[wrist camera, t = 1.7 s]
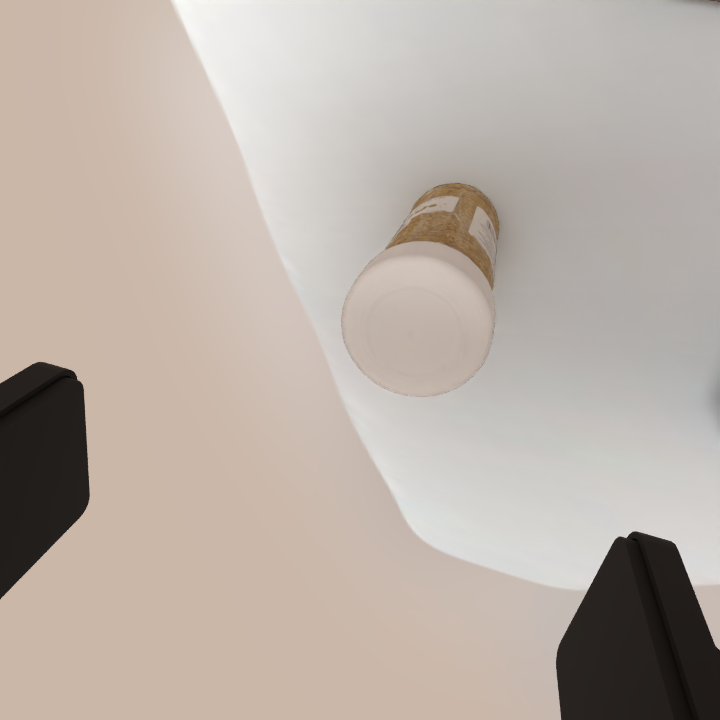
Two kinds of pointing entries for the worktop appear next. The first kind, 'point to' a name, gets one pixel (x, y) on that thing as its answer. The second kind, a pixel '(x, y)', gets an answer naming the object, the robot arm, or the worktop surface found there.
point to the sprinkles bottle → (428, 297)
